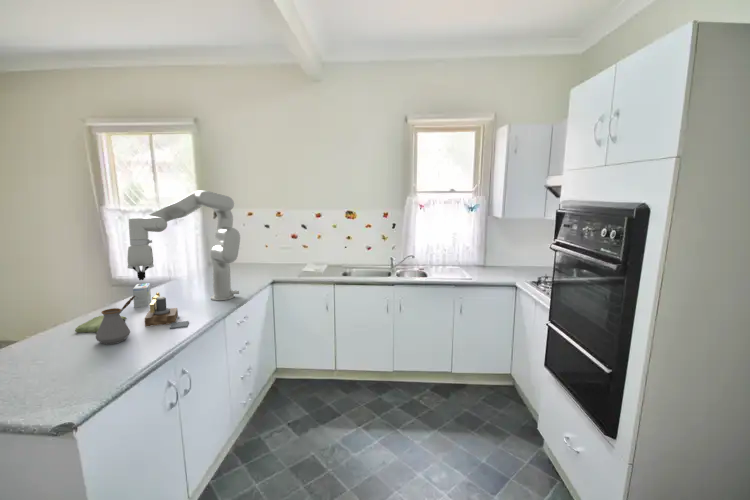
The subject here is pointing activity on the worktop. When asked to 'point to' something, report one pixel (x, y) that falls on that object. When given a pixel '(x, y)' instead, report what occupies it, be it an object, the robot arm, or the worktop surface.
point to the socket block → (161, 318)
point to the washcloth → (92, 325)
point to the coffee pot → (113, 326)
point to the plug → (161, 306)
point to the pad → (179, 324)
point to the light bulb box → (142, 295)
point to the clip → (154, 303)
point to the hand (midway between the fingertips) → (141, 279)
